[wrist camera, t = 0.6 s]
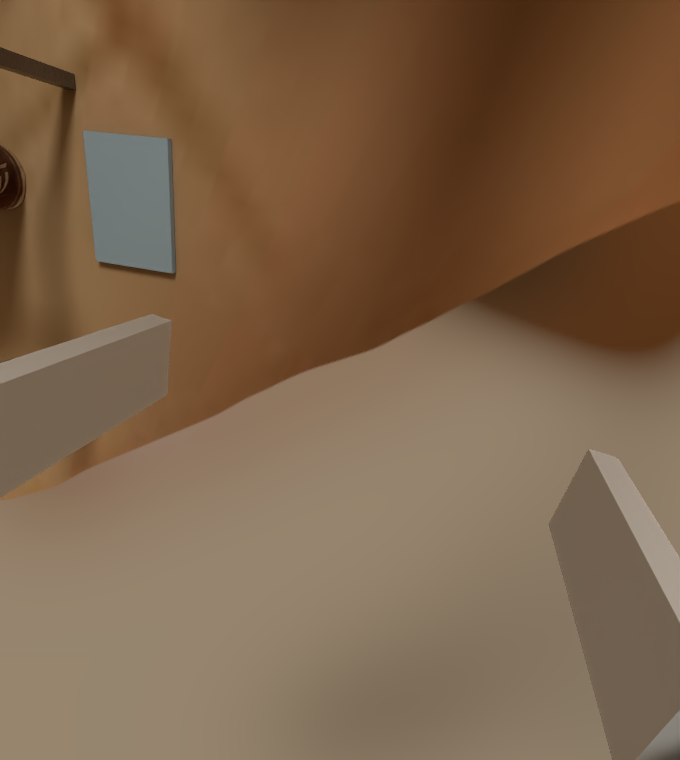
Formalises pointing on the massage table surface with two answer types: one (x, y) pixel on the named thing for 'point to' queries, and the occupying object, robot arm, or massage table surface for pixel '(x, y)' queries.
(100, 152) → the mat
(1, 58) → the frame
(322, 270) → the massage table surface
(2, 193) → the coffee cup
